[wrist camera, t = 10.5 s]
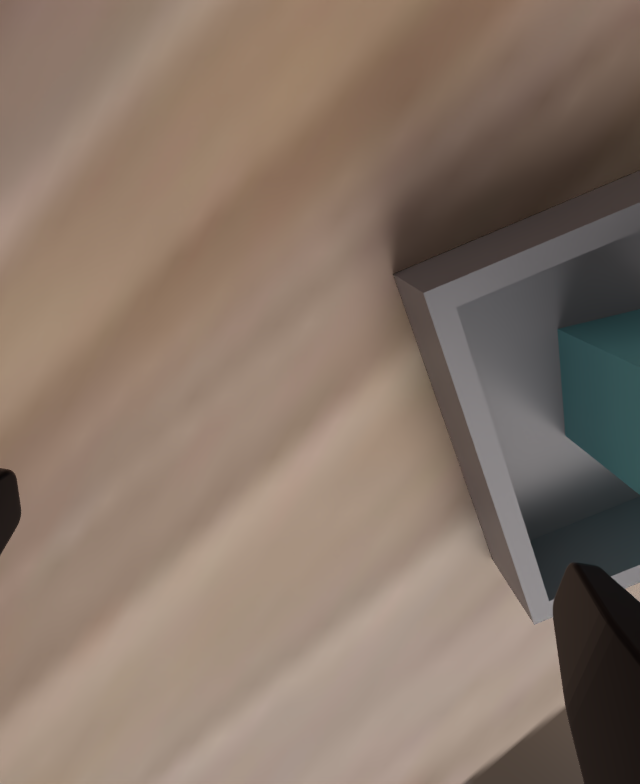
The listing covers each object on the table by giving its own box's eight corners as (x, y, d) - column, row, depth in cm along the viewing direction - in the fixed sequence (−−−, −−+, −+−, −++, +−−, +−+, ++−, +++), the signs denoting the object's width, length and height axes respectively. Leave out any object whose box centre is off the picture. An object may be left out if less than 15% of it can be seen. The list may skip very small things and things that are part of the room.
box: (493, 560, 26) (534, 624, 22) (393, 274, 21) (423, 293, 17) (784, 443, 25) (876, 488, 22) (748, 124, 21) (858, 110, 17)
